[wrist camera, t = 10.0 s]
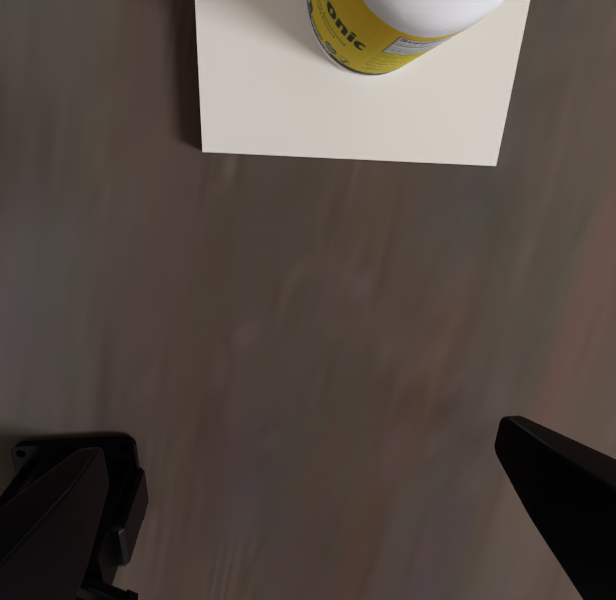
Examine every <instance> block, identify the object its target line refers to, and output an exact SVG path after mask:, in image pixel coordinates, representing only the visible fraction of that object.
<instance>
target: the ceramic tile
mask: <svg viewBox="0 0 616 600" xmlns="http://www.w3.org/2000/svg"><path fill="white" fill-rule="evenodd" d="M529 3H530V0H504V1H503V2H502V3H501V4H500V5H499V6H498V7H497V8H496V9H495V10H494V11H492V12H491V13H490V14H488V15H487V16H486V17H484V18H483V19H482V20H480V21H479V22H477V23H476V24H474V25H472V26H471V27H469V28H467V29H466V30H464V31H462V32H460V33H459V34H457V35H455V36H454V37H452V38H450V39H449V40H447V41H445V42H443V43H442V44H440V45H438V46H437V47H435V48H433V49H432V50H430V51H428V52H426V53H425V54H423V55H422V56H420V57H418V58H416V59H414V60H413V61H411V62H409V63H408V64H406V65H404V66H402V67H400V68H399V69H396V70H394V71H392V72H389V73H387V74H383V75H378V76H361V75H356V74H353V73H350V72H347V71H345V70H343V69H342V68H340V67H339V66H337V65H336V64H334V63H333V62H332V61H331V60H330V59H329V58H328V57H327V55H326V54H325V53H324V52H323V50H322V49H321V48H320V46H319V44H318V43H317V41H316V39H315V37H314V34H313V32H312V29H311V26H310V22H309V18H308V13H307V2H306V0H195V12H196V32H197V53H198V73H199V93H200V114H201V134H202V152H214V153H235V154H255V155H276V156H297V157H318V158H339V159H360V160H381V161H402V162H422V163H443V164H464V165H485V166H496V164H497V159H498V154H499V149H500V144H501V139H502V135H503V130H504V125H505V120H506V115H507V110H508V105H509V100H510V96H511V91H512V86H513V81H514V76H515V71H516V66H517V62H518V57H519V52H520V47H521V42H522V37H523V32H524V28H525V23H526V18H527V13H528V8H529Z"/></svg>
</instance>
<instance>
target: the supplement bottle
mask: <svg viewBox="0 0 616 600" xmlns="http://www.w3.org/2000/svg"><path fill="white" fill-rule="evenodd" d="M503 1H504V0H306V2H307V13H308V18H309V22H310V26H311V29H312V32H313V34H314V37H315V39H316V41H317V43H318V44H319V46H320V48H321V49H322V50H323V52H324V53H325V54H326V55H327V57H328V58H329V59H330V60H331V61H332V62H333V63H334V64H336V65H337V66H339V67H340V68H342V69H343V70H345V71H347V72H350V73H353V74H356V75H361V76H378V75H383V74H387V73H389V72H392V71H394V70H396V69H399V68H400V67H402V66H404V65H406V64H408V63H409V62H411V61H413V60H414V59H416V58H418V57H420V56H422V55H423V54H425V53H426V52H428V51H430V50H432V49H433V48H435V47H437V46H438V45H440V44H442V43H443V42H445V41H447V40H449V39H450V38H452V37H454V36H455V35H457V34H459V33H460V32H462V31H464V30H466V29H467V28H469V27H471V26H472V25H474V24H476V23H477V22H479V21H480V20H482V19H483V18H484V17H486V16H487V15H488V14H490V13H491V12H492V11H494V10H495V9H496V8H497V7H498V6H499V5H500V4H501V3H502V2H503Z"/></svg>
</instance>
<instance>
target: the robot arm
mask: <svg viewBox="0 0 616 600" xmlns="http://www.w3.org/2000/svg"><path fill="white" fill-rule="evenodd" d="M124 444H125V445H128V447H127V446H124ZM21 450H23V451H25V452H23V451H21ZM495 452H496V454H497V457H498V459H499V460H500V462H501V464H502V466H503V468H504V470H505V472H506V474H507V475H508V477H509V479H510V481H511V483H512V485H513V487H514V489H515V491H516V492H517V494H518V496H519V498H520V500H521V502H522V504H523V506H524V507H525V509H526V511H527V513H528V514H529V516H530V518H531V519H532V521H533V523H534V524H535V526H536V528H537V529H538V531H539V532H540V534H541V535H542V537H543V538H544V540H545V541H546V543H547V544H548V546H549V548H550V549H551V551H552V552H553V554H554V555H555V557H556V558H557V560H558V561H559V563H560V564H561V566H562V568H563V569H564V571H565V572H566V574H567V575H568V577H569V578H570V580H571V581H572V583H573V585H574V586H575V588H576V589H577V591H578V592H579V594H580V595H581V597H582V598H583V600H616V459H614V458H612V457H609V456H607V455H605V454H603V453H601V452H599V451H596V450H594V449H592V448H590V447H588V446H585V445H583V444H581V443H579V442H577V441H575V440H572V439H570V438H568V437H566V436H564V435H561V434H559V433H557V432H555V431H553V430H550V429H548V428H546V427H544V426H542V425H540V424H537V423H535V422H533V421H531V420H529V419H526V418H524V417H522V416H506V417H503V418H502V419H501V421H500V424H499V428H498V432H497V436H496V441H495ZM11 455H12V459H13V462H14V466H15V469H16V472H17V475H16V476H15V477H14V479H13V480H12V481H11V483H10V484H9V485H8V487H7V488H6V489H5V491H4V492H3V493H2V495H1V496H0V600H138V593H135V592H133V591H131V590H127V591H125V590H122V589H120V588H118V587H115V586H113V585H112V584H113V581H114V578H115V575H116V571H117V568H118V567H123V566H126V565H127V564H128V563H129V562H130V560H131V556H132V553H133V550H134V547H135V543H136V540H137V537H138V534H139V530H140V527H141V524H142V521H143V520H144V517H145V513H146V507H147V504H148V493H147V485H146V478H145V471H144V470H143V469H142V468H140V467H139V460H138V453H137V446H136V441H135V440H134V439H133V438H132V437H129V436H121V437H101V438H82V439H63V440H43V441H24V442H19V443H18V444H16V446H15V447H14V448H13V449H12V451H11Z"/></svg>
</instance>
